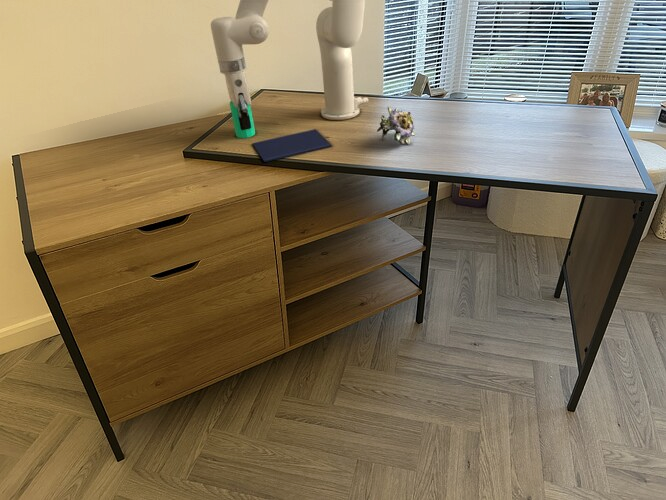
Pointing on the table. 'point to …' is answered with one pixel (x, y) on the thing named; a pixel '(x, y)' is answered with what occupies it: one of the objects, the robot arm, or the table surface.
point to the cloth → (291, 145)
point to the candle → (238, 130)
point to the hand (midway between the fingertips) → (244, 125)
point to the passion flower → (398, 125)
